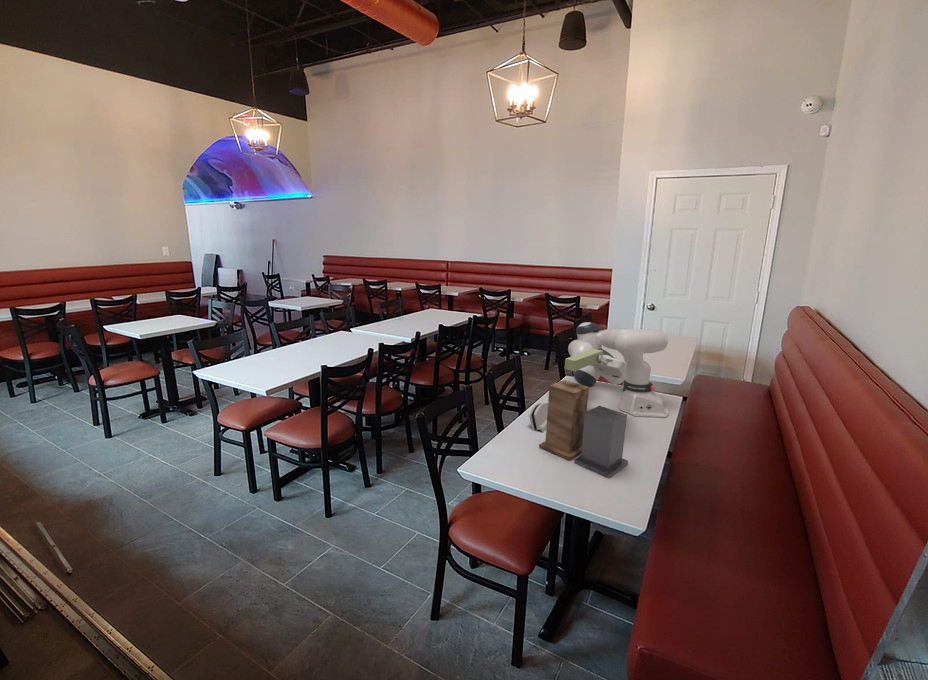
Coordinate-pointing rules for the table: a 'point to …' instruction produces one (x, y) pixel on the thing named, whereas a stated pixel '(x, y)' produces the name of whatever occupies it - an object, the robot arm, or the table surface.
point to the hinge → (539, 416)
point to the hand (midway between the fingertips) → (592, 355)
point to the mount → (603, 441)
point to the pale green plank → (582, 359)
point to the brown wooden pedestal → (565, 419)
